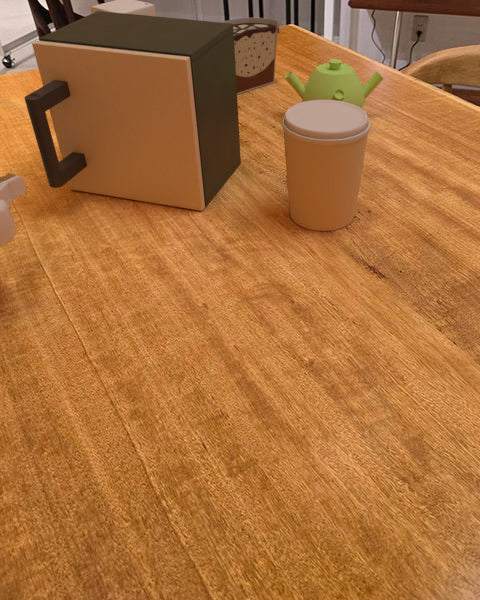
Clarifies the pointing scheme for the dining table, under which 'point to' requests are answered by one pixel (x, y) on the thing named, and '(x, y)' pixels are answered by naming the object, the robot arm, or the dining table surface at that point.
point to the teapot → (334, 84)
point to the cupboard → (204, 67)
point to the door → (118, 123)
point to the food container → (254, 52)
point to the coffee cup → (324, 161)
